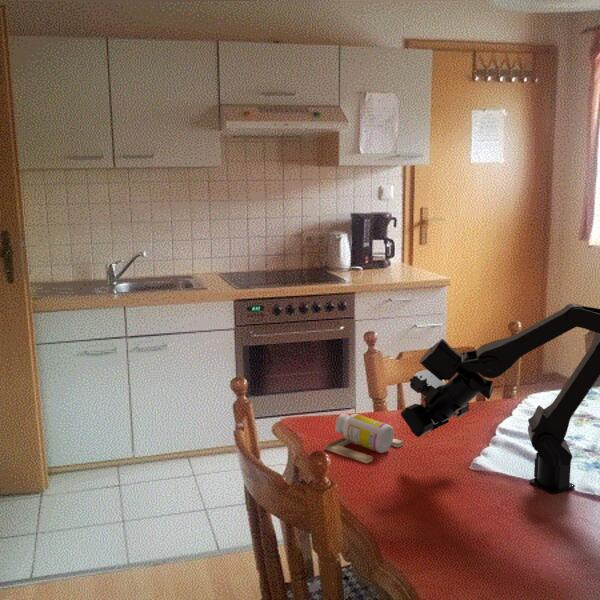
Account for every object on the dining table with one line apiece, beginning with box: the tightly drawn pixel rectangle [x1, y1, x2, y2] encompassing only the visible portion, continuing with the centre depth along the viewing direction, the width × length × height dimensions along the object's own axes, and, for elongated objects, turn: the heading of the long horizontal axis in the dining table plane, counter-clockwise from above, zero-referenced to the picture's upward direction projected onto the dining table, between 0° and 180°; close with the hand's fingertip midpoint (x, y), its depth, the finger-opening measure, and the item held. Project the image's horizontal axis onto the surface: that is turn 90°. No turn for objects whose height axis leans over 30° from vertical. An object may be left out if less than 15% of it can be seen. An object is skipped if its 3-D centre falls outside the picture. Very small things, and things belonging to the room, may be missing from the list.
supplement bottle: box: [334, 413, 395, 454], centre depth 166 cm, size 7×7×13 cm
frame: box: [324, 437, 404, 464], centre depth 167 cm, size 12×14×1 cm
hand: (412, 431), depth 157 cm, fingers closed
